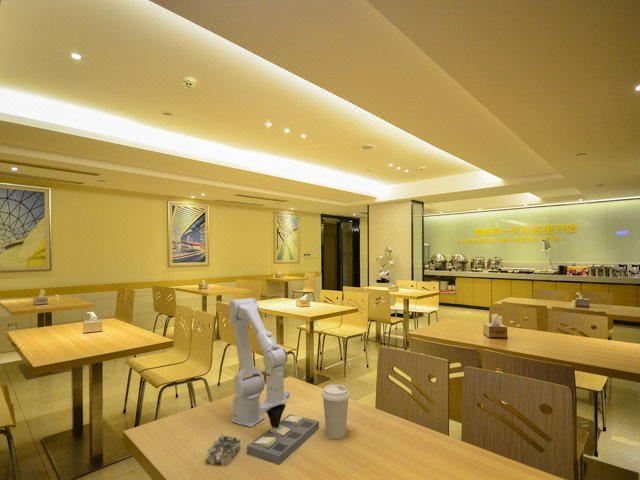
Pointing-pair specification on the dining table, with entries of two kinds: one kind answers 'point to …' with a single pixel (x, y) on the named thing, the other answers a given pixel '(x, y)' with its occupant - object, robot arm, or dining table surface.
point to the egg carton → (227, 445)
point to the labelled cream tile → (293, 420)
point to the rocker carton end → (265, 442)
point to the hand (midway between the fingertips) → (275, 427)
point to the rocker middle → (280, 430)
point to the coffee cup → (335, 410)
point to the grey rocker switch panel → (284, 441)
